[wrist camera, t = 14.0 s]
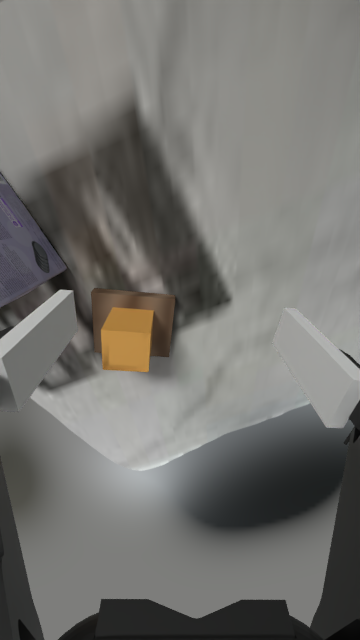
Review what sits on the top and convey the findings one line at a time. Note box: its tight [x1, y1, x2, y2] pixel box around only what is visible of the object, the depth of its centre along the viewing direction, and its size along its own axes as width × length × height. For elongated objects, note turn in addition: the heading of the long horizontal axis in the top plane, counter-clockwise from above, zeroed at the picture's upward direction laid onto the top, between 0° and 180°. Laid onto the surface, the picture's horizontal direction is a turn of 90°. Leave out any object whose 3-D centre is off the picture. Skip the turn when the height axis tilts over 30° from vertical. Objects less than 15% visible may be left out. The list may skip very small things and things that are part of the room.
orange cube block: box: [101, 307, 154, 372], centre depth 39 cm, size 7×7×8 cm
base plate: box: [91, 288, 175, 357], centre depth 43 cm, size 14×12×2 cm
